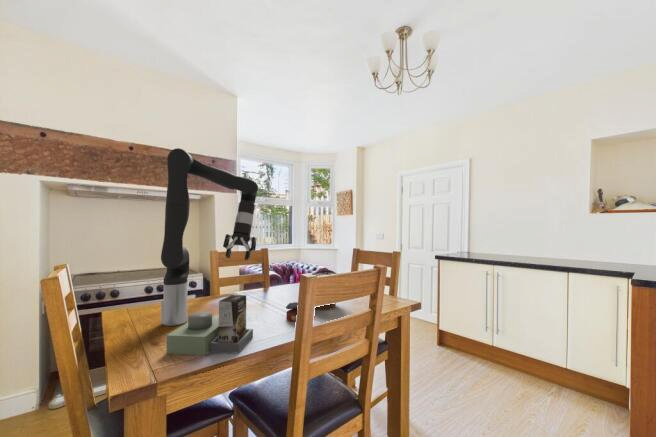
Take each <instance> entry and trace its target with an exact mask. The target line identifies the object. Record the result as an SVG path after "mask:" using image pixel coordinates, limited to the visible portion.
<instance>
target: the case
mask: <svg viewBox="0 0 656 437" xmlns="http://www.w3.org/2000/svg"><path fill="white" fill-rule="evenodd" d="M331 274H338V273H336V272H335V271H334V270H330V269H320V270H318V271H315V272H314V273H312V274H311V275H317V276H320V275H331ZM336 304H337V302H336V303H335V304H330V305H324V306H320V307H316V308H315V309H314V310H315V311H329V310H332V309H334V308H335V307H336Z"/></svg>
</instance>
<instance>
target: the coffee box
mask: <svg viewBox="0 0 656 437" xmlns="http://www.w3.org/2000/svg"><path fill="white" fill-rule="evenodd" d="M218 318H219V331H218V342H229V343H237V342H238V341H239V340H240V339H241V338H242V337H243V336H244V335H245V334H246V329H247V295H242V294H231V295H228V296H227V297H224V298H222V299H220V300H219V301H218Z"/></svg>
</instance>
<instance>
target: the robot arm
mask: <svg viewBox="0 0 656 437" xmlns="http://www.w3.org/2000/svg"><path fill="white" fill-rule="evenodd" d="M166 160H167V163H166V164H167V177H168V178H167V179H168V180H167V188H166V198H165V208H164V209H165V210H164V212H165V213H164V214H165V215H164V217H165V218H164V234H163V235H164V236H163V243H162V248H161V253H160V261H161V265H163V266H164V267H165V268H166V272H165V276H164V277H163V301H161V303H160V304H161V306H160V325H163V326H167V327H170V326H171V327H172V326H179V325H180V326H181V325H182V324H183V325H184V324H186V323H188V278H189V273H190V254H189V251H188V249H187V248H186V247H184V245H183V244H184V243H183V242H184V241H183V239H184V233H185V230H186V228H187V223H188V221H189V216H190V207H191V206H190V193H189V188H188V175H194V176H196V177H199V178H203V179H205V180H207V181H209V182H212V183H215V184H216V185H219V186H221V187H224V188H226V189H229V190H236V191H239V192H241V195H240V200H239V203H238V209H237V213H236V216H235V221H234V227H233V231H232V233H233V234H229V233H228V234H227V233H226V234H225V235H224V236H225V237H224V240H223V245H222V246H223V248H225V249H226V250H225V257H226V259H230V258H231V255H232V249H233V248H234V247H236V246H240V247H241V246H242V247H244V248H245V250H246V251H245V254H244V261H249V260H250V258H251V257H250V256H251V253H252V252H255V251H256V250H257V249H256V246H257V241H258V240H257V237H255V236H251V234H252V227H253V223H254V212H255V206H256V205H255V203H256V198H257V196H258V192H259V185H258V183H257V182H256V181H255V180H253V179H251V178H248V177H243V176H240V175H237V174H233V173H232V172H230V171H227V170H224V169H222V168H218V167H216V166H215V167H214V166H211V165H207V164H206V163H204V162H201V161H199V160H197V159H196V158H194V157H192V155H191V154H190V153H188V152H187V150H184V149H182V148H173V149H172V150H171V151H169V152H168V154H167V159H166ZM249 242H251V243H250V244H249Z"/></svg>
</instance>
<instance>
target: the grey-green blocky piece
mask: <svg viewBox="0 0 656 437" xmlns="http://www.w3.org/2000/svg"><path fill="white" fill-rule="evenodd" d="M218 331H219V317H213V313H212V312H211V311H198V312H193V313H191V314H188V315H187V322H185V323H183V325H182V326H181V325H180V327H178V328H176V329H175V330H173V331H171V332H169V333H168V334H166V354H169V355H170V354H172V355H193V356H194V355H198V356H206V355H207V354H208V353H223V354H224V353H227V354H228V353H229V354H240V352H241V351H242V350H243V349H244V348H245V346H246V345H247V344H248V343H249V342H250V341H251V340H252V339H253V337H254V329H253V328H246V334H245V335H244V336H243V337H242V338H241V339H240V340H239V341H238V342H237V343H229V342H218Z"/></svg>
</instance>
